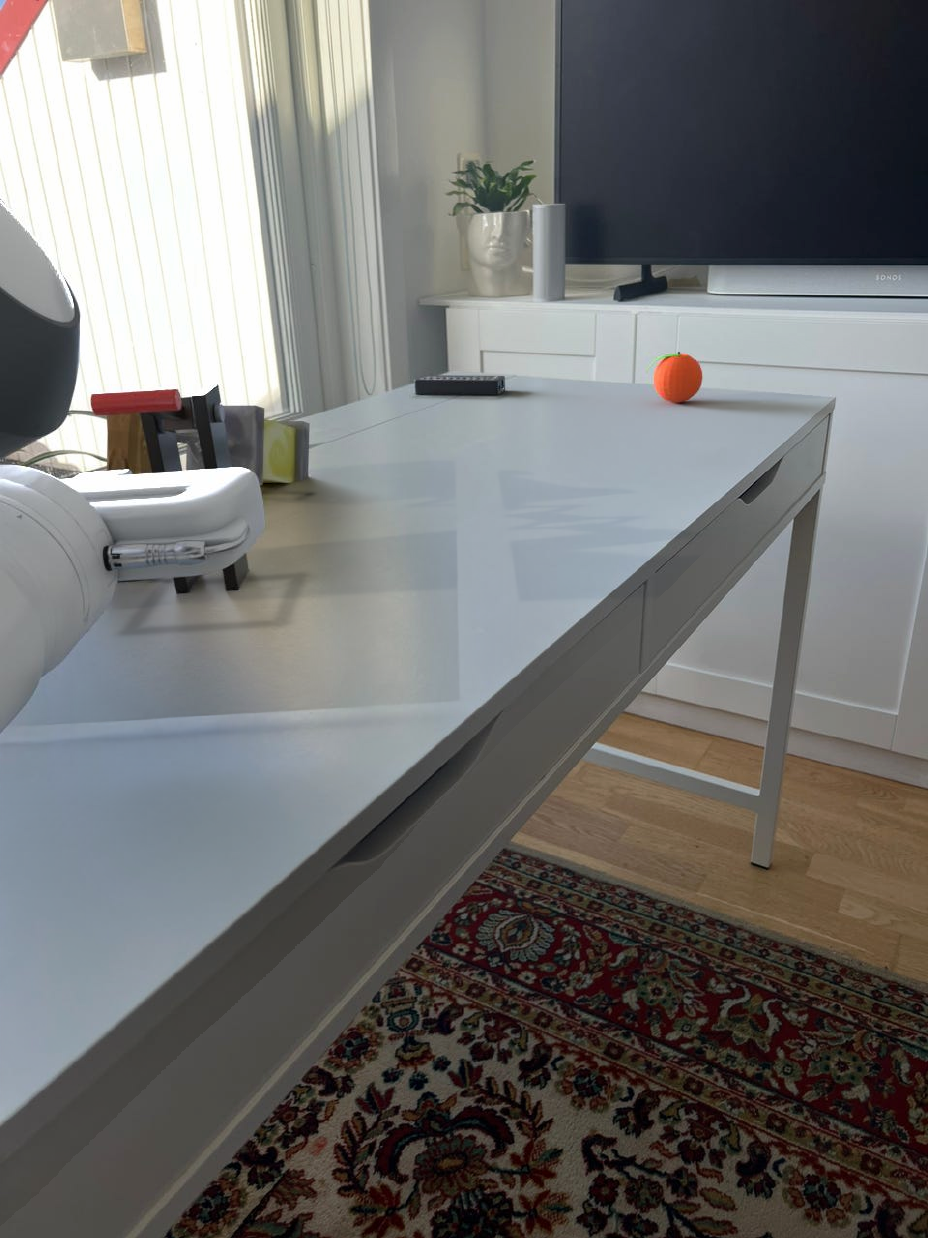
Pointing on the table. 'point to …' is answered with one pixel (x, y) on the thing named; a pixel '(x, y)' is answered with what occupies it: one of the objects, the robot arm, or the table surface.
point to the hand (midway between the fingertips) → (110, 484)
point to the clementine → (677, 377)
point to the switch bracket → (214, 457)
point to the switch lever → (149, 406)
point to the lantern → (251, 442)
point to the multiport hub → (459, 385)
